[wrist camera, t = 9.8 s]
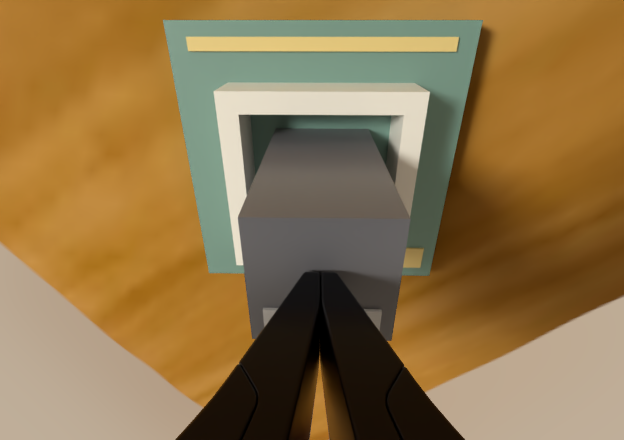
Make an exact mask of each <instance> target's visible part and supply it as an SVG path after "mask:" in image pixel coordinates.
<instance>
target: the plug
mask: <svg viewBox="0 0 624 440" xmlns="http://www.w3.org/2000/svg"><path fill="white" fill-rule="evenodd" d="M410 220H411V218H410V216H409V214H408V212H407V210H406V208H405V206H404V204H403V201H402V199H401V197H400V195H399V193H398V191H397V189H396V187H395V184H394V182H393V180H392V178H391V176H390V174H389V172H388V170H387V167H386V165H385V163H384V161H383V159H382V157H381V155H380V153H379V151H378V148H377V146H376V144H375V142H374V140H373V138H372V136H371V134H370V131H369V129H313V128H276V129H275V131H274V134H273V136H272V138H271V141H270V143H269V145H268V148H267V150H266V152H265V155H264V157H263V159H262V162H261V164H260V166H259V169H258V171H257V173H256V176H255V178H254V180H253V183H252V185H251V187H250V190H249V192H248V194H247V197H246V199H245V201H244V204H243V206H242V208H241V211H240V213H239V215H238V225H239V233H240V241H241V249H242V258H243V266H244V274H245V282H246V291H247V299H248V307H249V315H250V324H251V332H252V339H256V338H257V337H258V335H259V334H260V333H261V331H262V330H263V328H264V327H265V326H266V324H267V323H268V321H269V320H270V319H271V317H272V316H273V315H274V313H275V312H276V310H277V309H278V308H279V306H280V305H281V303H282V302H283V301H284V299H285V298H286V296H287V295H288V294H289V292H290V291H291V290H292V288H293V287H294V285H295V284H296V283H297V281H298V280H299V278H300V277H301V276H302V274H303V273H304V272H319V273H320V277H321V273H322V272H336V273H338V275H339V276H340V277H341V279H342V280H343V282H344V283H345V284H346V286H347V287H348V288H349V290H350V291H351V293H352V294H353V295H354V297H355V298H356V299H357V301H358V302H359V304H360V305H361V306H362V308H363V309H364V310H365V312H366V313H367V315H368V316H369V317H370V319H371V320H372V322H373V323H374V324H375V326H376V327H377V328H378V330H379V331H380V333H381V334H382V335H383V337H384V338H385V339H386V341H391V340H392V333H393V327H394V321H395V314H396V308H397V302H398V296H399V289H400V283H401V277H402V271H403V264H404V258H405V252H406V245H407V239H408V233H409V227H410Z"/></svg>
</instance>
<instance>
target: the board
mask: <svg viewBox="0 0 624 440" xmlns="http://www.w3.org/2000/svg"><path fill="white" fill-rule="evenodd" d="M163 22H164V28H165V33H166V39H167V44H168V50H169V55H170V61H171V66H172V72H173V77H174V83H175V88H176V94H177V99H178V104H179V110H180V115H181V121H182V126H183V132H184V137H185V143H186V148H187V154H188V159H189V165H190V170H191V176H192V181H193V187H194V192H195V198H196V203H197V209H198V214H199V220H200V225H201V231H202V236H203V241H204V247H205V252H206V258H207V263H208V269H209V273H244V266H243V265H236V258H235V250H234V243H233V235H232V228H231V220H230V212H229V205H228V197H227V190H226V182H225V175H224V167H223V160H222V152H221V144H220V137H219V129H218V122H217V114H216V107H215V99H214V91H215V90H216V89H218V88H220V87H221V86H223V85H225V84H226V83H228V82H252V83H416V84H417V85H419V86H421V87H422V88H424V89H426V90H427V91H429V92H430V95H429V101H428V108H427V114H426V120H425V126H424V133H423V139H422V145H421V152H420V158H419V164H418V171H417V177H416V183H415V189H414V196H413V202H412V208H411V215H410V218H411V220H410V227H409V233H408V239H407V245H406V252H405V258H404V264H403V271H402V275H416V276H429V274H430V270H431V265H432V260H433V255H434V251H435V246H436V241H437V236H438V231H439V227H440V222H441V217H442V212H443V208H444V203H445V198H446V193H447V189H448V184H449V179H450V174H451V170H452V165H453V160H454V155H455V150H456V146H457V141H458V136H459V131H460V127H461V122H462V117H463V112H464V108H465V103H466V98H467V93H468V88H469V84H470V79H471V74H472V69H473V65H474V60H475V55H476V50H477V46H478V41H479V36H480V31H481V26H482V22H483V20H163ZM250 118H251V130H252V142H253V153H254V165H255V176H256V173H257V171H258V169H259V166H260V164H261V162H262V159H263V157H264V155H265V152H266V150H267V148H268V145H269V143H270V141H271V138H272V136H273V134H274V131H275V129H276V128H313V129H369V131H370V134H371V136H372V138H373V140H374V142H375V144H376V146H377V148H378V151H379V153H380V155H381V157H382V159H383V161H384V163H385V165H386V160H387V151H388V142H389V133H390V124H391V115H250Z"/></svg>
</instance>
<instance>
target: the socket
mask: <svg viewBox="0 0 624 440" xmlns="http://www.w3.org/2000/svg"><path fill="white" fill-rule="evenodd" d="M429 95H430V92H429V91H427V90H426V89H424V88H422V87H421V86H419V85H417V84H416V83H252V82H228V83H226V84H225V85H223V86H221V87H220V88H218V89H216V90H215V91H214V99H215V107H216V114H217V122H218V129H219V137H220V144H221V152H222V160H223V167H224V175H225V182H226V190H227V197H228V205H229V212H230V220H231V228H232V235H233V243H234V250H235V258H236V265H243V258H242V249H241V241H240V233H239V225H238V215H239V213H240V211H241V208H242V206H243V204H244V201H245V199H246V197H247V194H248V192H249V190H250V187H251V185H252V183H253V180H254V178H255V165H254V153H253V142H252V130H251V118H250V115H391V124H390V133H389V142H388V151H387V160H386V167H387V170H388V172H389V174H390V176H391V178H392V180H393V182H394V184H395V187H396V189H397V191H398V193H399V195H400V197H401V199H402V201H403V204H404V206H405V208H406V210H407V212H408V214H409V216H410V215H411V208H412V202H413V196H414V189H415V183H416V177H417V171H418V164H419V158H420V152H421V145H422V139H423V133H424V126H425V120H426V114H427V108H428V101H429Z"/></svg>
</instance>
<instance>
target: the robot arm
mask: <svg viewBox="0 0 624 440" xmlns="http://www.w3.org/2000/svg"><path fill="white" fill-rule="evenodd" d="M319 356H320V363H321V373H322V381H323V390H324V398H325V406H326V414H327V422H328V431H329V439H330V440H465V439H464V438H463V437H462V436H461V435H460V434H459V432H458V431H457V430H456V429H455V428H454V427H453V426H452V425H451V423H450V422H449V421H448V420H447V419H446V418H445V417H444V415H443V414H442V413H441V412H440V411H439V410H438V408H437V407H436V406H435V405H434V404H433V403H432V401H431V400H430V399H429V398H428V396H427V395H426V394H425V392H424V391H423V390H422V388H421V387H420V386H419V385H418V383H417V382H416V381H415V379H414V378H413V376H412V375H411V374H410V372H409V371H408V369H407V368H406V367H404V364H403V363H402V361H401V360H400V359H399V357H398V356H397V355H396V353H395V352H394V350H393V349H392V348H391V346H390V345H389V344H388V342H387V341H386V339H385V338H384V337H383V335H382V334H381V333H380V331H379V330H378V328H377V327H376V326H375V324H374V323H373V322H372V320H371V319H370V317H369V316H368V315H367V313H366V312H365V310H364V309H363V308H362V306H361V305H360V304H359V302H358V301H357V299H356V298H355V297H354V295H353V294H352V293H351V291H350V290H349V288H348V287H347V286H346V284H345V283H344V282H343V280H342V279H341V277H340V276H339V275H338V273H336V272H322V273H321V277H320V273H319V272H304V273H303V274H302V276H301V277H300V278H299V280H298V281H297V283H296V284H295V285H294V287H293V288H292V290H291V291H290V292H289V294H288V295H287V296H286V298H285V299H284V301H283V302H282V303H281V305H280V306H279V308H278V309H277V310H276V312H275V313H274V315H273V316H272V317H271V319H270V320H269V321H268V323H267V324H266V326H265V327H264V328H263V330H262V331H261V333H260V334H259V335H258V337H257V338H256V339H255V341H254V342H253V344H252V345H251V346H250V348H249V349H248V351H247V352H246V353H245V355H244V356H243V358H242V359H241V360H240V362H239V364H238V365H237V366H236V367H235V368H234V370H233V371H232V373H231V374H230V375H229V377H228V378H227V379H226V381H225V382H224V383H223V385H222V386H221V387H220V389H219V390H218V391H217V392H216V394H215V395H214V396H213V398H212V399H211V400H210V401H209V402H208V403H207V405H206V406H205V407H204V408H203V409H202V410H201V412H200V413H199V414H198V415H197V416H196V417H195V419H194V420H193V421H192V422H191V423H190V424H189V425H188V426H187V427H186V429H185V430H184V431H183V432H182V433H181V434H180V435H179V436H178V437H177V438H176V440H309V437H310V430H311V422H312V415H313V407H314V399H315V392H316V384H317V376H318V368H319Z"/></svg>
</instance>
